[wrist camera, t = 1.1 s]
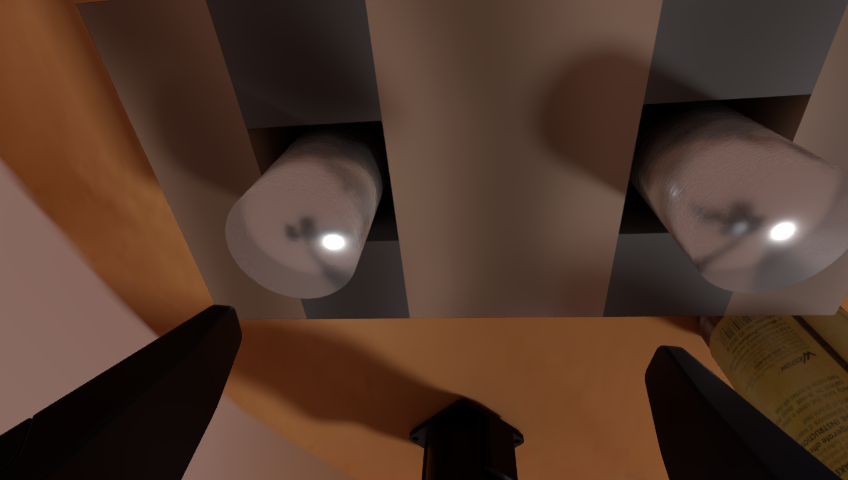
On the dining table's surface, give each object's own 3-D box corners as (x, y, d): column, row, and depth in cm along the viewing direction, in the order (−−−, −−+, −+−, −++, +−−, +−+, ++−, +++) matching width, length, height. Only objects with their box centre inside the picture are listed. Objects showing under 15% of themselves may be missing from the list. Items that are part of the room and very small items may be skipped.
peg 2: (727, 81, 15) (900, 159, 9) (700, 176, 17) (826, 292, 11) (619, 88, 15) (716, 167, 9) (604, 180, 17) (677, 293, 11)
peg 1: (387, 103, 16) (344, 184, 10) (399, 189, 18) (367, 297, 12) (296, 109, 17) (204, 190, 11) (317, 192, 18) (248, 299, 13)
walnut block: (838, -75, 15) (1075, -98, 9) (734, 219, 22) (834, 315, 16) (203, -10, 18) (75, 4, 12) (280, 233, 24) (222, 319, 18)
